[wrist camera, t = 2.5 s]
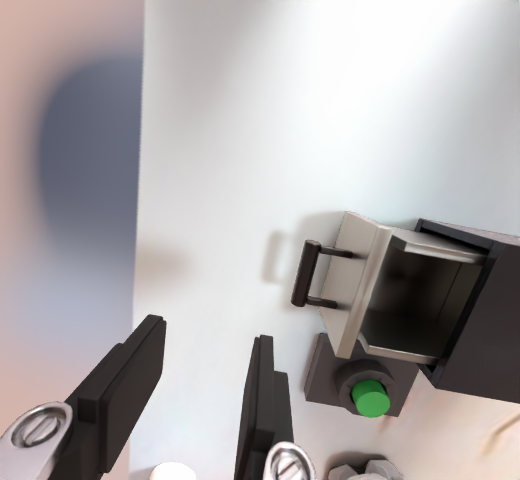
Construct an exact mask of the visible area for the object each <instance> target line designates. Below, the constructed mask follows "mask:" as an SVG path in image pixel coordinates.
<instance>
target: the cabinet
mask: <svg viewBox="0 0 520 480" xmlns="http://www.w3.org/2000/svg"><path fill="white" fill-rule="evenodd" d="M415 231H416V232H422V233H427V234H432V235H438V236H443V237H448V238H454V239H458V240H461V241H464V242H467V243H470V244H473V245H476V246H478V247H481V248H484V249H487V250H490V252H489V254H488V256H487V258H486V261H485V263H484V265H483V267H482V269H481V271H480V273H479V276H478V278H477V280H476V282H475V284H474V286H473V288H472V291H471V293H470V295H469V297H468V299H467V301H466V303H465V306H464V308H463V310H462V312H461V314H460V316H459V319H458V321H457V323H456V325H455V327H454V329H453V331H452V334H451V336H450V338H449V340H448V342H447V344H446V346H445V349H444V351H443V353H442V355H441V357H440V359H439V361H438V364H437V366H433V365H428V364H422V363H417V362H415V363H416V364H417V366H418V367H419V368H420V370H421V371H422V372H423V373H424V375H425V376H426V377H427V379H428V380H429V381H430V382H431V384H432V385H433V386H434V387H435V388H436V389H440V390H446V391H452V392H457V393H463V394H468V395H474V396H479V397H485V398H491V399H496V400H502V401H507V402H513V403H518V404H520V237H516V236H511V235H506V234H501V233H495V232H490V231H485V230H479V229H474V228H469V227H464V226H458V225H453V224H448V223H442V222H437V221H432V220H427V219H421V218H420V219H419V221H418V224H417V226H416V229H415Z"/></svg>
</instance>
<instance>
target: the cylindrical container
mask: <svg viewBox="0 0 520 480" xmlns="http://www.w3.org/2000/svg"><path fill="white" fill-rule="evenodd" d="M149 480H197V478H196V475H195V474H194V472H193V471H192V470H191V469H190V468H188V467H187V466H185V465H182V464H179V463H174V462H168V463H163V464H160V465H158V466H157V467H155V468H154V470H153V472H152V474H151V476H150V479H149Z"/></svg>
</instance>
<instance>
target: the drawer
mask: <svg viewBox="0 0 520 480" xmlns="http://www.w3.org/2000/svg"><path fill="white" fill-rule="evenodd" d="M319 252H320V253H322V254H327V255H332V258H331V262H330V265H329V269H328V272H327V276H326V280H325V283H324V287H323V290H322V294H321V297H320V298H317V297H311V296H308V293H309V290H310V286H311V282H312V278H313V274H314V271H315V267H316V263H317V259H318V255H319ZM489 252H490V250H487V249H484V248H481V247H478V246H476V245H473V244H470V243H467V242H464V241H461V240H458V239H454V238H448V237H443V236H438V235H432V234H427V233H422V232H416V231H411V230H406V229H401V228H395V227H390V226H385V225H382V224H380V223H378V222H376V221H373V220H371V219H369V218H366V217H364V216H362V215H360V214H357V213H355V212H349V211H345V212H344V215H343V219H342V222H341V226H340V230H339V233H338V237H337V240H336V244H335V247H328V246H323V245H321V243H319V242H317V241H314V240H305V243H304V248H303V252H302V256H301V260H300V264H299V268H298V272H297V276H296V280H295V285H294V289H293V293H292V297H291V303H292V304H293V305H295V306H297V307H304V306H305V305H306V304H309V305H314V306H318V309H319V312H320V315H321V317H322V320H323V323H324V326H325V328H326V331H327V334H328V337H329V339H330V342H331V345H332V347H333V350H334V353H335V356H336V357H340V358H346V359H350V356H351V353H352V350H353V347H354V344H355V341H356V338H357V337H358V339H359V341H360V342H361V344H362V346H363V348H364V350H365V352H366V353H367V354H372V355H378V356H384V357H389V358H395V359H400V360H406V361H411V362H417V363H422V364H428V365H433V366H437V364H438V361H439V359H440V357H441V355H442V353H443V351H444V349H445V346H446V344H447V342H448V340H449V338H450V336H451V334H452V331H453V329H454V327H455V325H456V323H457V321H458V319H459V316H460V314H461V312H462V310H463V308H464V306H465V303H466V301H467V299H468V297H469V295H470V293H471V291H472V288H473V286H474V284H475V282H476V280H477V278H478V276H479V273H480V271H481V269H482V267H483V265H484V263H485V261H486V258H487V256H488V254H489Z"/></svg>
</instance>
